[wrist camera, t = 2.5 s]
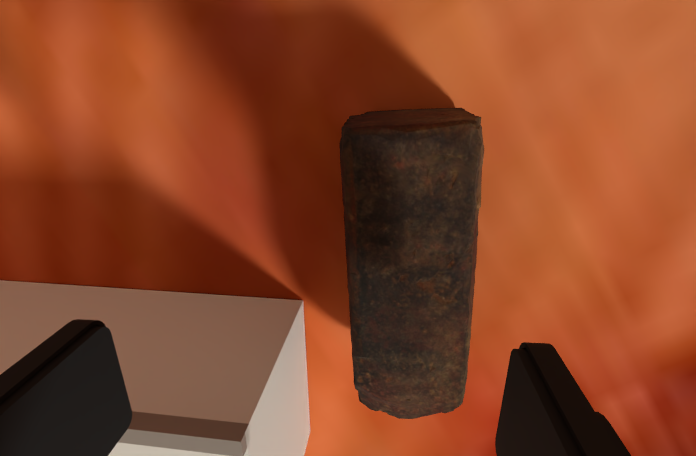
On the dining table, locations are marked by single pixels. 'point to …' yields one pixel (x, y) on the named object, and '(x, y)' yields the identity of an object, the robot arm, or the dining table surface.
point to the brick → (411, 254)
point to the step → (183, 364)
